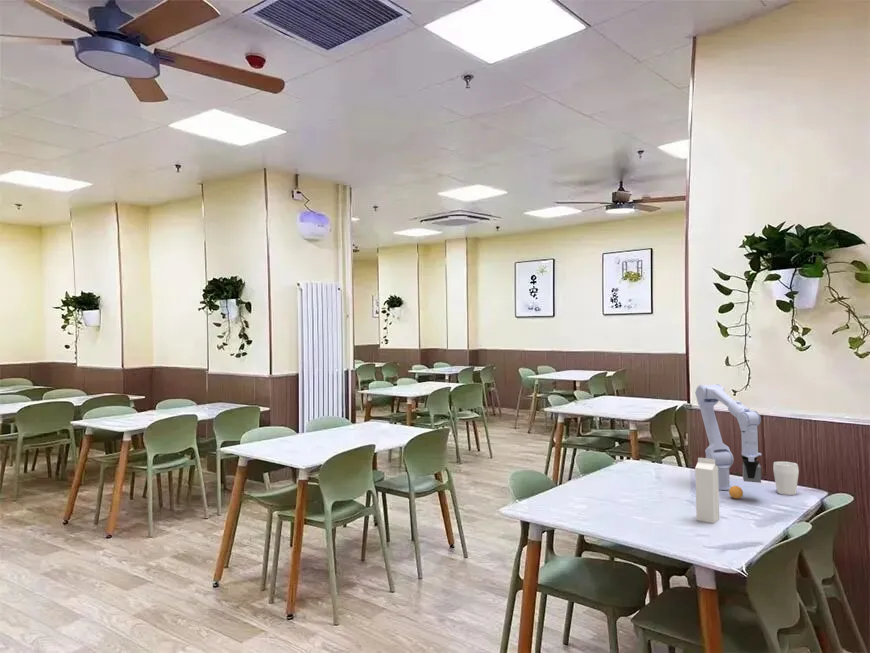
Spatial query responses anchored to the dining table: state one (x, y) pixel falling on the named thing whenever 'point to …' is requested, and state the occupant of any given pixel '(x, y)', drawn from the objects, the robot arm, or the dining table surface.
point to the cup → (786, 477)
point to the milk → (707, 490)
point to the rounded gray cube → (757, 474)
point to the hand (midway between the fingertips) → (750, 476)
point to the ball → (735, 492)
